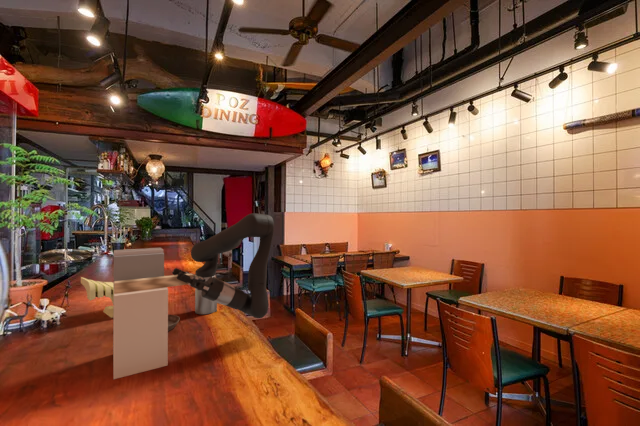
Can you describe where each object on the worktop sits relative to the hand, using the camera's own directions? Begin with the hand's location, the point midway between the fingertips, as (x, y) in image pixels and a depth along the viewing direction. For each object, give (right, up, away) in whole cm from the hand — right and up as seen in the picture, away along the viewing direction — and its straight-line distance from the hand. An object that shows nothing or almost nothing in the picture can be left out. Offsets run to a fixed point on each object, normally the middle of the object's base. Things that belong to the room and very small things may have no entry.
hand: (175, 272), depth 99 cm
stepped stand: (-11, -28, -2) cm, 30 cm away
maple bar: (-5, -4, -3) cm, 7 cm away
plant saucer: (-20, -28, +24) cm, 42 cm away
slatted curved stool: (-45, -27, +43) cm, 68 cm away
